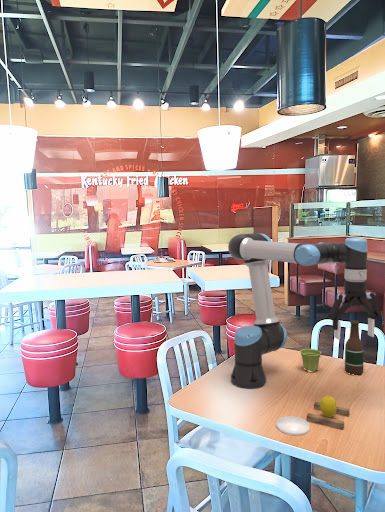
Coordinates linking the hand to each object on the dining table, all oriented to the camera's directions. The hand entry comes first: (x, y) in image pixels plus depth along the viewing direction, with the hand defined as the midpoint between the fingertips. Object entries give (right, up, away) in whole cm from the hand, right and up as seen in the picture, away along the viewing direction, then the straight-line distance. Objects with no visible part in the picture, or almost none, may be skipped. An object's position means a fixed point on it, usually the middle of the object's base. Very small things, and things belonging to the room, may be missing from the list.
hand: (354, 337), depth 145 cm
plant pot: (-5, -23, +37) cm, 44 cm away
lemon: (-12, -27, -7) cm, 30 cm away
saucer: (-26, -28, -13) cm, 40 cm away
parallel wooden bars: (-12, -27, -7) cm, 30 cm away
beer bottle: (+14, -23, +33) cm, 42 cm away
